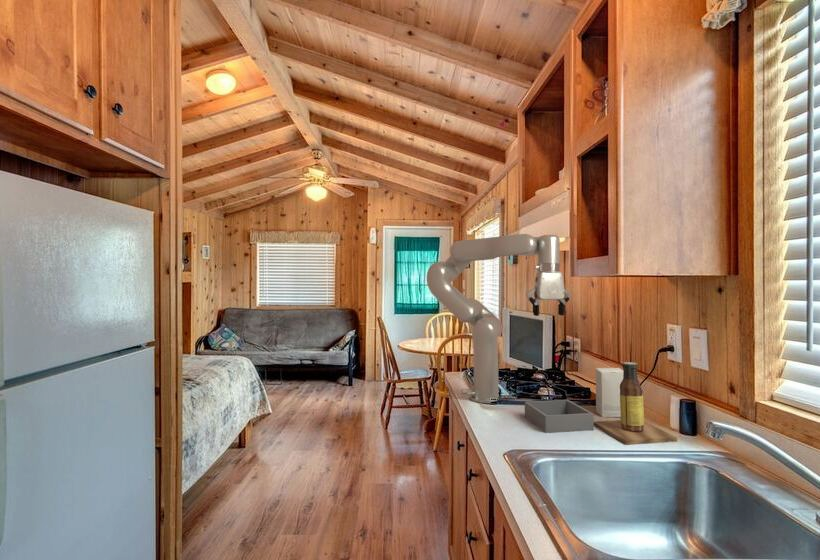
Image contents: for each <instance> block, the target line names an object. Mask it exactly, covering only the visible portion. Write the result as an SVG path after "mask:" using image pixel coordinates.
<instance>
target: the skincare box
mask: <svg viewBox="0 0 820 560" xmlns="http://www.w3.org/2000/svg"><path fill="white" fill-rule="evenodd" d="M623 375H624V374H623V369H621V368H620V367H595V406H596V408H595V409H596V410H595V411H596V413H597V414H599V415H600V416H601V418H621V411H620V384H621V382H622V380H623Z"/></svg>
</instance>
